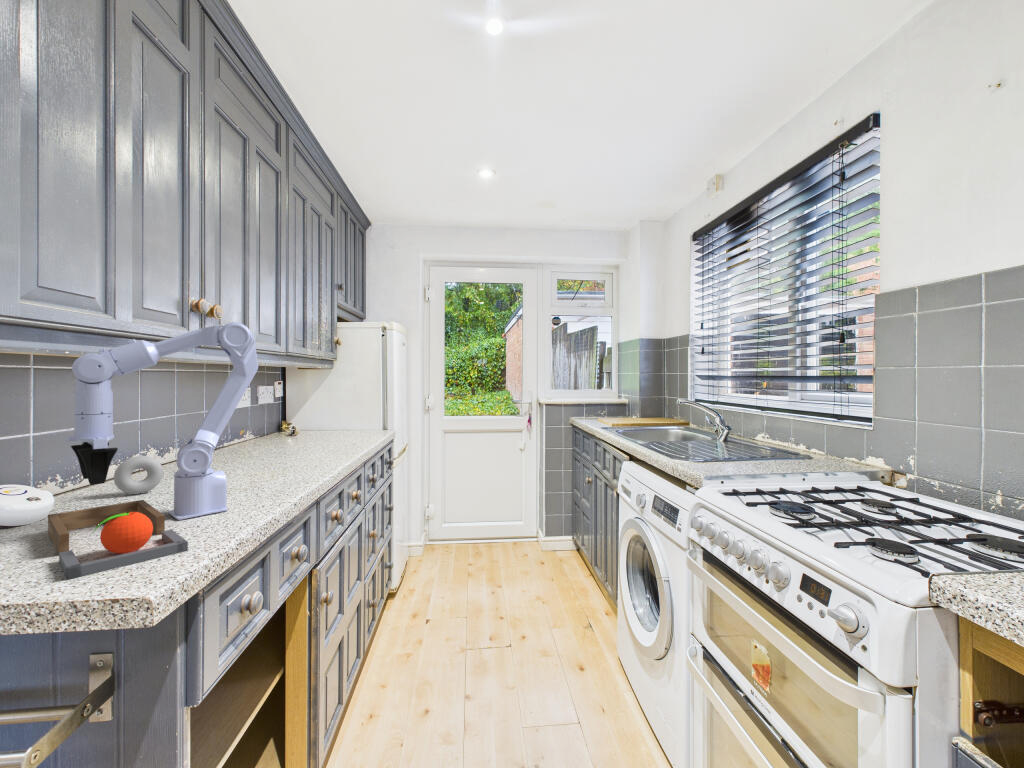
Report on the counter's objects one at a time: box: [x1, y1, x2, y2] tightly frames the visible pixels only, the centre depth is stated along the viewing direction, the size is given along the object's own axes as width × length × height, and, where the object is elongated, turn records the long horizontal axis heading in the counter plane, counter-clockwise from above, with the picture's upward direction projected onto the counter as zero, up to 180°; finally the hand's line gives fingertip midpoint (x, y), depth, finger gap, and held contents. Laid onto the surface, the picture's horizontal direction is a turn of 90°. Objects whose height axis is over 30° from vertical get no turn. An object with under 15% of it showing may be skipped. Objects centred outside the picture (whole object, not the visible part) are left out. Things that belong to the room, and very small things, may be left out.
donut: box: [113, 455, 164, 495], centre depth 115 cm, size 10×4×10 cm, turn 138°
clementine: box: [92, 511, 154, 555], centre depth 76 cm, size 8×7×7 cm
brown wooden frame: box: [47, 499, 166, 555], centre depth 86 cm, size 14×17×4 cm
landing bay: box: [58, 529, 189, 580], centre depth 75 cm, size 15×10×2 cm, turn 141°
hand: (93, 480), depth 89 cm, fingers open, 7 cm apart
